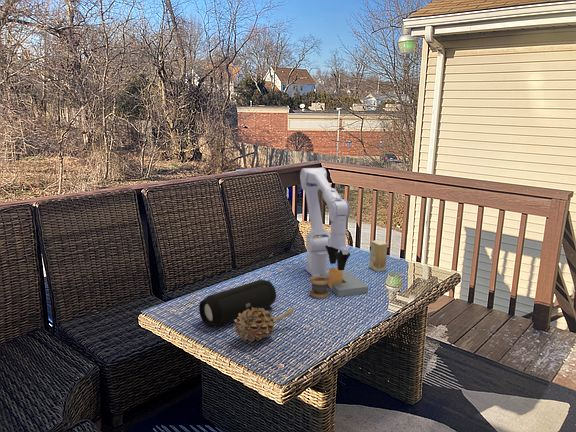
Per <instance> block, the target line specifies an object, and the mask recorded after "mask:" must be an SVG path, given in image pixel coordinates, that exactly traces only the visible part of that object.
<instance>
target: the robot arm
mask: <svg viewBox="0 0 576 432" xmlns="http://www.w3.org/2000/svg"><path fill="white" fill-rule="evenodd" d="M327 177H328V173H327V170H326V168H325V167H323V166H322V167H311V168H310V167H308V168H305V167H303V168H302V169H301V170H300V174H299V179H300V186H301V190H303V191H304V192H305V198H306V204H307V205H306V206H307V210H308V217H309V221H310V222H309V223H310V229H311V230H310V231H309V232H307V234H306V236H305V240H306V241H305V247H306V250H307V251H308V253H307V267H305V270H306V271H307V273H308V274H310V276H311V277H313V276H320V273H329V270H328V261H329V264H330V265H332V264H333V265H334V264H335V265H337V267H336V268H338V270H339V271H340V270H342V271H345V267H346V264H347V261H348V259H349V258H350V256H351V253H350V252H349V249H348V247H347V243H346V237H347V216H349V214H350V213H351V206H350V203H349V201H348V200H346V199H342V197H341V195H340V194H339V193H338V191H337V190H336V188H333V187H331V185H330V183H329V181H328V179H327ZM319 190H320V191H321V192H322V198H323V200H324V201H325V203H326V205H327V207H328V208H327V209H328V213H329V221H330V231H329V230H327V229H326V228H324V224H323V219H322V212H321V206H320V200H319V199H320V198H319V195H318V192H319ZM336 263H337V264H336Z"/></svg>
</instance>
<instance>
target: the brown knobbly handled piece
mask: <svg viewBox="0 0 576 432" xmlns="http://www.w3.org/2000/svg"><path fill="white" fill-rule="evenodd" d="M265 309H266V308H265ZM265 309H263V308H262V309H260V308H259V309H258V310H257V308H253V307H252V309H251V310H249V309H247V310H246V311H244V312H243V313H239V317H237V319H235V320H233V321H234V322H235V323H234V324H233V326H235V327H236V329H235V330H234V333H236V336H239V337H240V338H241V339H243V341H245V340H247V341H248V342H253V341H255V340H256V341H257V342H258V341H261V340H262V339H265V338H266V337H268V336H269V333H270V334H273V333H274V331H275V327H274V325H275V324H276V323H277V322H279V321H280V320H283V319H284V318H287V317H288V316H290V315H293V314H295V312H294V310H295V308H293V307H292V308H290V307H288V310H287V311H285V312H284V313H282V314H280V315H277V317H273V316H272V314H271V312H270V311H268V310H265Z"/></svg>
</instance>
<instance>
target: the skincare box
mask: <svg viewBox="0 0 576 432" xmlns="http://www.w3.org/2000/svg"><path fill="white" fill-rule="evenodd" d="M370 243H371V244H370V254H369V268H370V269H372V270H373V271H376V272H377V273H378V272H379V273H380V272H385V271H386V268H387V267H386V266H387V255H388V254H387V253H388V245H389V244H388V243H387V242H385V241H382V240H380V239H377V240H371V242H370Z"/></svg>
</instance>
